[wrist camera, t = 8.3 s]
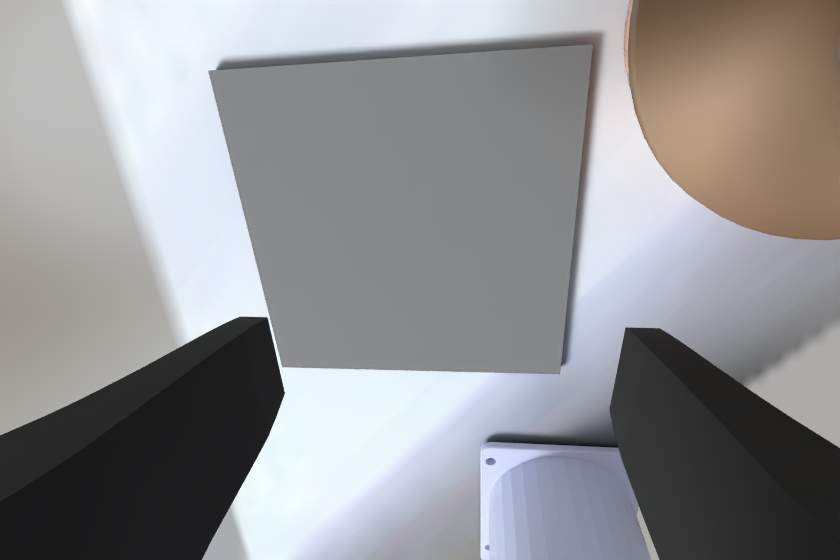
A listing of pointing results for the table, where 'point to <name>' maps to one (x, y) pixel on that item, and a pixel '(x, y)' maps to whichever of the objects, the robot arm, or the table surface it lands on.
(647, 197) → the table surface
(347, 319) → the mat
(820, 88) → the lid
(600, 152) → the table surface
